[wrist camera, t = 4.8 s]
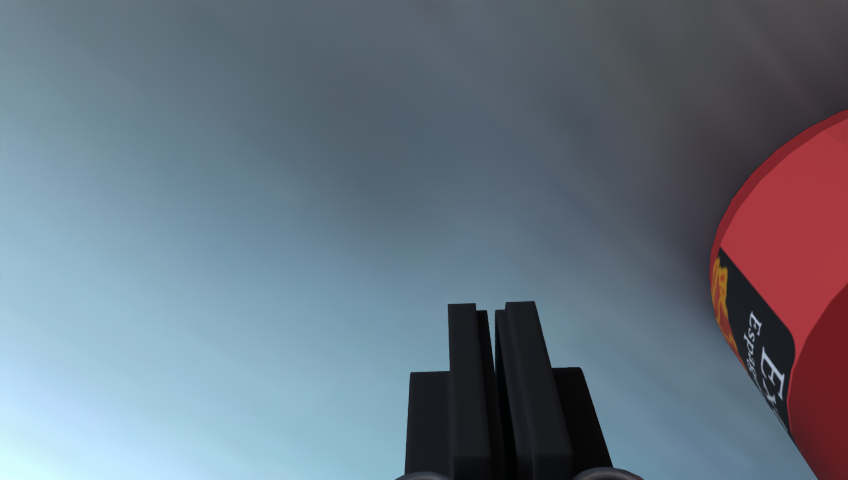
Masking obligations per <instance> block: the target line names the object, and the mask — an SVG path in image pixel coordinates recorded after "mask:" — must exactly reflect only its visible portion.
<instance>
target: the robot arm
mask: <svg viewBox="0 0 848 480" xmlns="http://www.w3.org/2000/svg"><path fill="white" fill-rule="evenodd" d="M448 324H449V357H450V371H437V372H411V374H410V385H409V403H408V421H407V439H406V457H405V475H403V476H401V477H399V478H397V479H395V480H644V479H642V478H641V477H640V476H637V475H635V474H633V473H631V472H628V471H626V470H622V469H617V468H613V465H612V462H611V459H610V456H609V453H608V449H607V446H606V443H605V440H604V437H603V434H602V431H601V427H600V424H599V421H598V418H597V415H596V412H595V409H594V405H593V402H592V399H591V396H590V393H589V390H588V387H587V384H586V380H585V377H584V374H583V372H582V369H581V368H580V367H568V368H551V364H550V360H549V356H548V352H547V348H546V344H545V340H544V336H543V332H542V328H541V324H540V320H539V316H538V312H537V309H536V305H535V302H534V301H525V302H506V305H505V310H495V370H494V362H493V354H492V347H491V339H490V331H489V323H488V315H487V310H479V311H476V304H475V303H467V304H448Z"/></svg>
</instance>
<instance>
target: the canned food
mask: <svg viewBox="0 0 848 480" xmlns="http://www.w3.org/2000/svg"><path fill="white" fill-rule="evenodd" d="M709 278H710V286H711V295H712V300H713V306H714V311H715V317H716V320H717V322H718V325H719V327H720V329H721V331H722V333H723V335H724V337H725V339H726V341H727V343H728V344H729V346H730V347H731V349H732V350H733V352H734V353H735V355H736V356H737V358H738V359H739V361H740V362H741V364H742V365H743V367H744V368H745V370H746V371H747V373H748V374H749V376H750V377H751V379H752V380H753V382H754V383H755V385H756V386H757V388H758V389H759V391H760V392H761V394H762V395H763V397H764V399H765V400H766V402H767V403H768V405H769V406H770V408H771V409H772V411H773V412H774V414H775V415H776V417H777V418H778V420H779V421H780V423H781V424H782V426H783V427H784V429H785V430H786V432H787V433H788V435H789V436H790V438H791V439H792V441H793V442H794V444H795V445H796V447H797V448H798V450H799V451H800V453H801V454H802V456H803V457H804V459H805V460H806V462H807V463H808V465H809V467H810V468H811V470H812V471H813V473H814V474H815V476H816V477H817V479H818V480H848V109H847V110H844V111H841V112H839V113H837V114H835V115H833V116H831V117H829V118H827V119H825V120H823V121H821V122H819V123H817V124H815V125H813V126H811V127H809V128H807V129H806V130H804V131H803V132H801V133H800V134H799V135H797V136H796V137H794V138H793V139H791V140H790V141H789V142H787V143H786V144H784V145H783V146H782V147H780V148H779V149H777V150H776V151H775V152H774V153H773V154H772V155H771V156H770V157H769V158H768V159H767V160H766V161H765V162H764V163H763V164H762V165H760V166H759V167H758V168H757V169H756V170H755V171H754V172H753V173H752V174H751V176H750V177H749V178H748V180H747V181H746V182H745V183H744V185H743V186H742V187H741V189H740V190H739V191H738V193H737V194H736V195H735V196H734V198H733V199H732V201H731V203H730V205H729V207H728V209H727V211H726V213H725V214H724V216H723V218H722V220H721V222H720V224H719V226H718V230H717V233H716V236H715V240H714V243H713V246H712V250H711V258H710V272H709Z"/></svg>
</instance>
